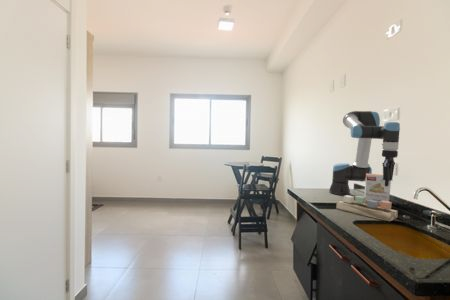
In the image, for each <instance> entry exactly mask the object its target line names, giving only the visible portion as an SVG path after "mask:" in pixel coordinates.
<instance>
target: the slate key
mask: <svg viewBox="0 0 450 300" xmlns="http://www.w3.org/2000/svg"><path fill="white" fill-rule="evenodd" d="M367 207H370V208H371V209H375V208H378V201H374V200H368V201H367Z"/></svg>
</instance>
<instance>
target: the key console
mask: <svg viewBox="0 0 450 300" xmlns="http://www.w3.org/2000/svg"><path fill="white" fill-rule="evenodd" d="M335 209H336V210H341V211H345V212H349V213H352V214H357V215H361V216H365V217H370V218H374V219H378V220H382V221H385V222H391V221H393V220H395V219H397V218H398V214H399V211H398V210H397V209H392V208H391V209H389V210H388V209H387V212H384V211H383V210H384V209H383V208H380V207H378V208H375V209H371V208H370V207H367V204H362V206H358V203H355V200H354V202H353V203H350V204H348V203H347V202H343V200H339V201H336V208H335Z"/></svg>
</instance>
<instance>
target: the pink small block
mask: <svg viewBox="0 0 450 300" xmlns="http://www.w3.org/2000/svg"><path fill="white" fill-rule="evenodd" d="M392 203H393V202H392V201H390V200H389V201H384V200H383V201H380V208H383V209H384V210H383V211H384V212H387V209H388V210H389V209H392Z"/></svg>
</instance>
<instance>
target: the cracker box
mask: <svg viewBox="0 0 450 300" xmlns="http://www.w3.org/2000/svg"><path fill="white" fill-rule="evenodd" d="M384 181H385V180H383V174H377V173H372V174H367V173H366V181H364V195H363V197H366V201H365V203H364V204H367V201H368V200H374V201H378V207H380V201H383V200H384V201H389V202H390V197H391V196H390V194H391V191H390V192H384ZM390 181H391V182H392V180H390ZM390 187H392V186H391V185H390Z"/></svg>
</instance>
